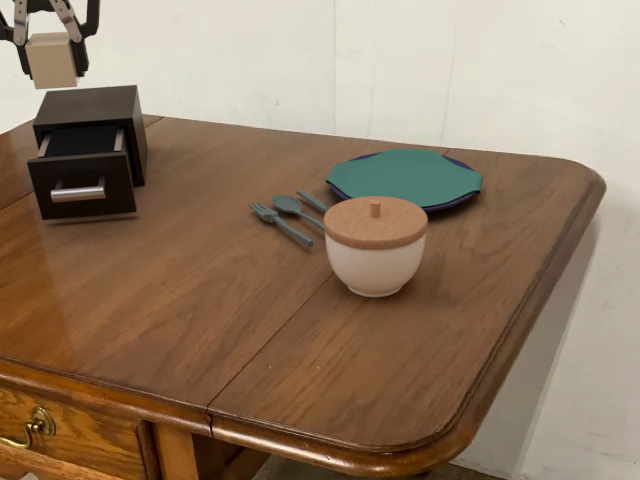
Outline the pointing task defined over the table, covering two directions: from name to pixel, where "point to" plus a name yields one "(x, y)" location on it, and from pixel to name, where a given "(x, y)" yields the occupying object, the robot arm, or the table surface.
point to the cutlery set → (386, 184)
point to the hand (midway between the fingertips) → (58, 76)
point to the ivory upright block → (51, 60)
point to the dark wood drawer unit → (97, 117)
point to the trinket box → (375, 243)
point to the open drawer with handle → (84, 173)
